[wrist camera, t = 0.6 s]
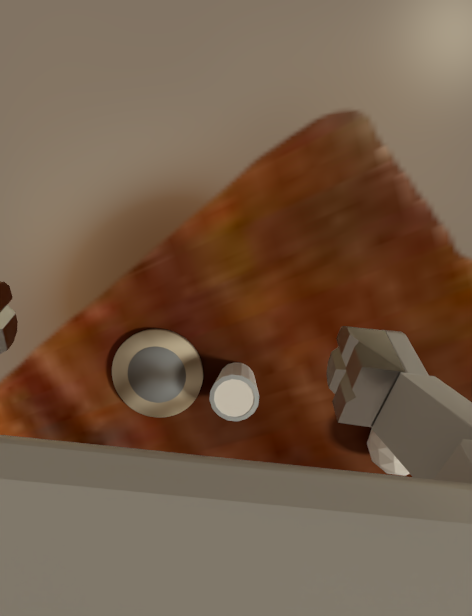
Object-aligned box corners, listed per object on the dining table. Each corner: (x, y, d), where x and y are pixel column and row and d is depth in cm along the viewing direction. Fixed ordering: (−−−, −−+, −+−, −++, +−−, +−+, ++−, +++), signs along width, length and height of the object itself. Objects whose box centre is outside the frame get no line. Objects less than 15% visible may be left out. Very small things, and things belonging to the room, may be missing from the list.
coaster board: (220, 388, 61) (219, 391, 59) (145, 428, 63) (143, 432, 61) (172, 312, 59) (171, 313, 57) (97, 355, 61) (93, 358, 59)
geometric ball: (369, 419, 63) (363, 415, 56) (424, 423, 60) (424, 419, 53) (370, 470, 61) (363, 471, 54) (427, 477, 57) (427, 479, 51)
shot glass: (217, 402, 61) (212, 423, 54) (212, 360, 60) (206, 377, 53) (261, 398, 61) (261, 419, 54) (256, 356, 59) (256, 372, 52)
